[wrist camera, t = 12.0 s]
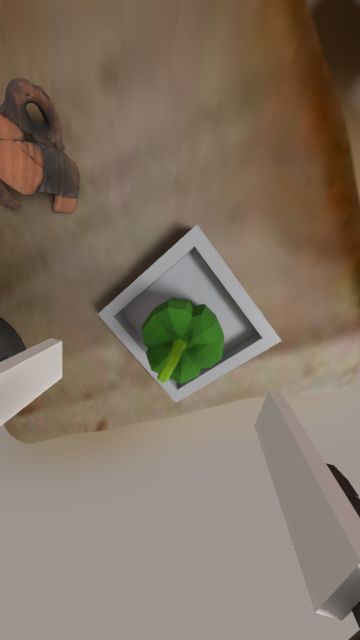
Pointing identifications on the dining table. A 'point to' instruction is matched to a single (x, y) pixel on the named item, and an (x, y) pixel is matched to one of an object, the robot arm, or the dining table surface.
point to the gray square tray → (200, 288)
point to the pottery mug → (34, 150)
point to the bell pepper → (182, 339)
